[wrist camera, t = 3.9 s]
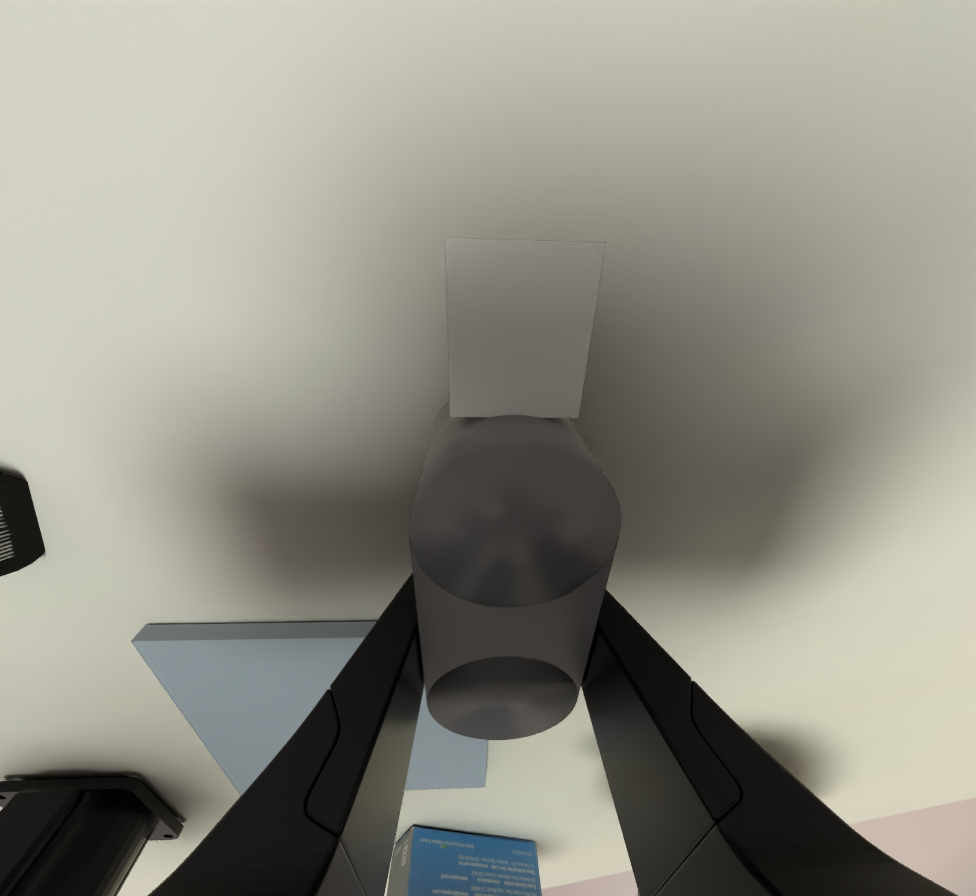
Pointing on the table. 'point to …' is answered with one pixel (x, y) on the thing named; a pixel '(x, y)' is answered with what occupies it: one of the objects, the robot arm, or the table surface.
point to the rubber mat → (281, 695)
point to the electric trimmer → (17, 526)
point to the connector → (512, 493)
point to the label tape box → (462, 865)
